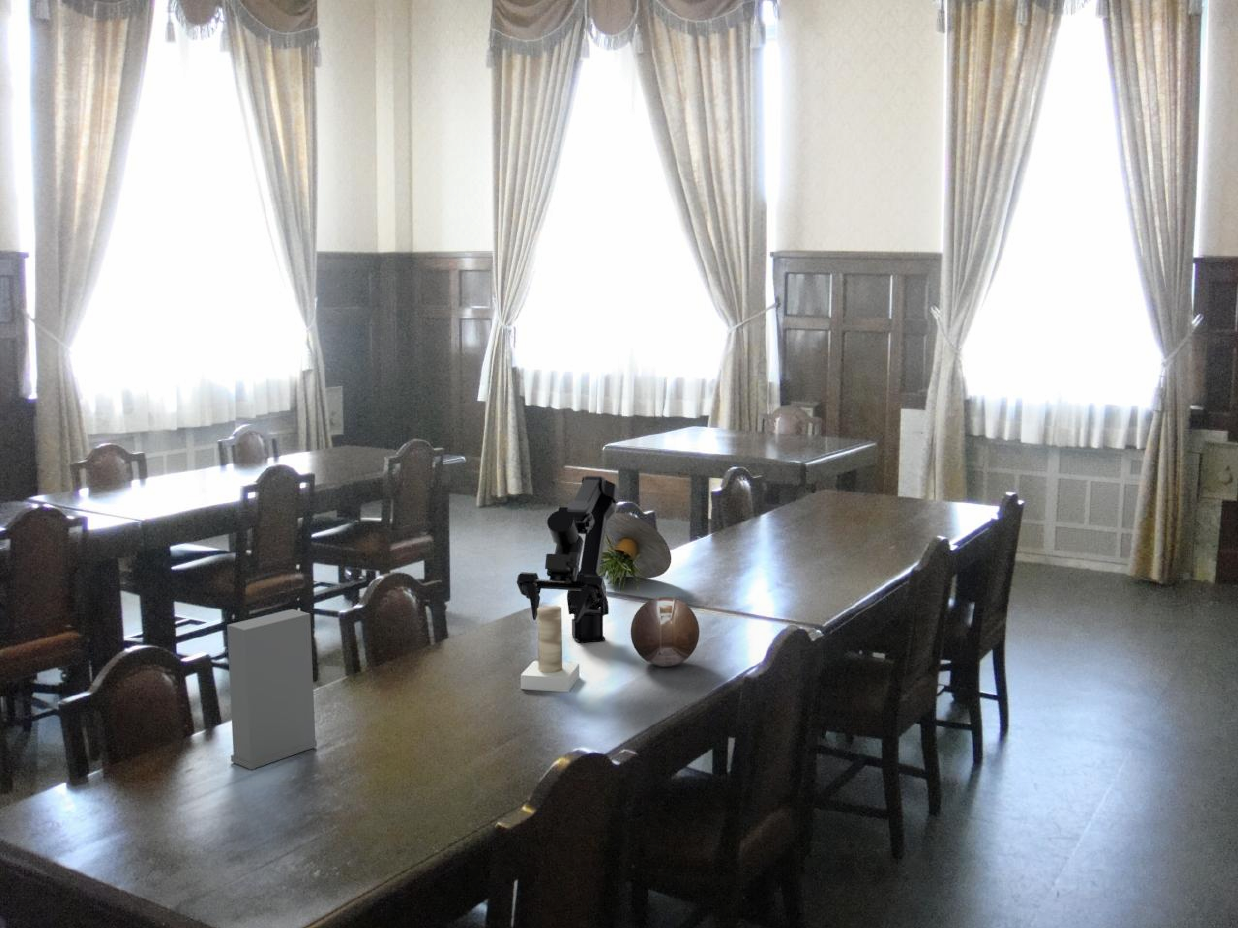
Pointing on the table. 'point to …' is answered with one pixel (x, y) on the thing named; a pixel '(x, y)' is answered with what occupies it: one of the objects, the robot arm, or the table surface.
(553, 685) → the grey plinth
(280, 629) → the upright grey box
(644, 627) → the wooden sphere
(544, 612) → the birch column
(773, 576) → the table surface
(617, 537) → the potted plant
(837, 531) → the table surface
